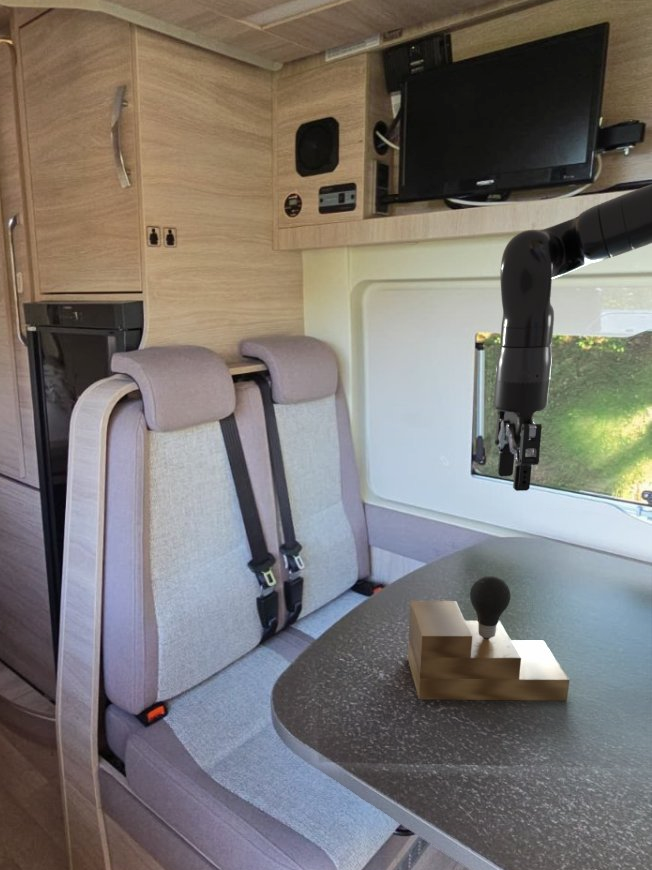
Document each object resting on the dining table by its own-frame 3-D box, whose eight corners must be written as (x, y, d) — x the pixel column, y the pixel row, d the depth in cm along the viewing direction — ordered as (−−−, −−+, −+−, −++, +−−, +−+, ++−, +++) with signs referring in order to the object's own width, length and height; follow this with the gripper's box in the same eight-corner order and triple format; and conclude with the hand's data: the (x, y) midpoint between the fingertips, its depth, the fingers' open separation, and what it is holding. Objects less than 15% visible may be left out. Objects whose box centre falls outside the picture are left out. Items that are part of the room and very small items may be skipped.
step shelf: (541, 659, 115) (548, 600, 112) (566, 701, 104) (575, 636, 100) (407, 659, 118) (410, 600, 114) (418, 699, 106) (422, 636, 103)
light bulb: (485, 650, 105) (490, 588, 101) (458, 634, 110) (463, 574, 106) (514, 641, 107) (520, 580, 103) (487, 626, 112) (492, 567, 108)
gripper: (566, 382, 100) (553, 495, 105) (533, 370, 113) (523, 470, 119) (510, 384, 100) (500, 496, 106) (484, 371, 114) (476, 471, 119)
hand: (512, 482), depth 112 cm, fingers open, 8 cm apart
